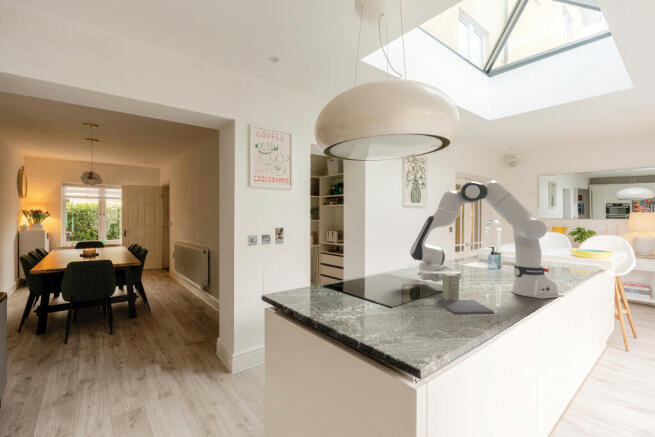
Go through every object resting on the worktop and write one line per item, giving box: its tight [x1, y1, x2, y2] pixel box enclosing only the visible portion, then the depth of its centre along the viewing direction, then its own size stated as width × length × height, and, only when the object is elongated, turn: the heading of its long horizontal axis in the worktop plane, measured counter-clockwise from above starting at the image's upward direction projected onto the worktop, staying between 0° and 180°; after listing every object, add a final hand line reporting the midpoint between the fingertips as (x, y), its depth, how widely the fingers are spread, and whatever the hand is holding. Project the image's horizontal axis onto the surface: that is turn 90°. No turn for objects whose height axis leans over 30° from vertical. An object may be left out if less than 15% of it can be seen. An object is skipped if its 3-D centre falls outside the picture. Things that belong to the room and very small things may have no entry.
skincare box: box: [442, 273, 460, 300], centre depth 143 cm, size 6×4×12 cm
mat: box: [437, 299, 495, 315], centre depth 132 cm, size 17×16×1 cm
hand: (446, 278), depth 148 cm, fingers closed
